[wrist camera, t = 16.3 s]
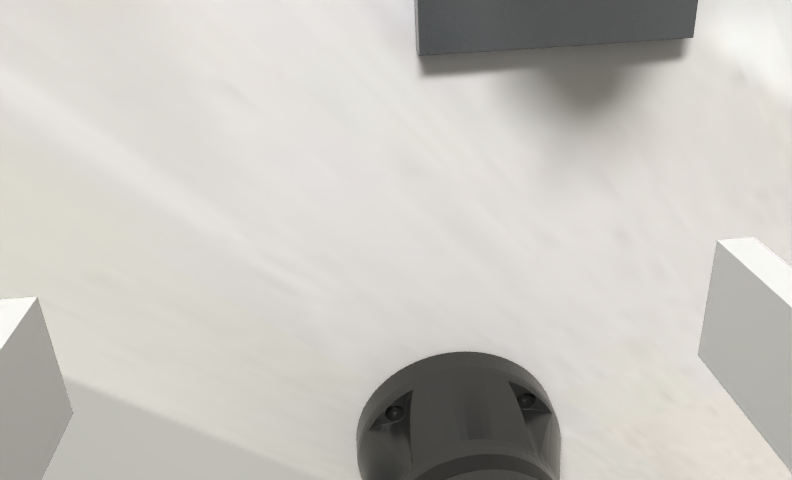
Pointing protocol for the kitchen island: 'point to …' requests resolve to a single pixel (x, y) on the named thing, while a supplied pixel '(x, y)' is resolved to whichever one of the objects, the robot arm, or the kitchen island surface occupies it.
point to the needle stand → (546, 23)
